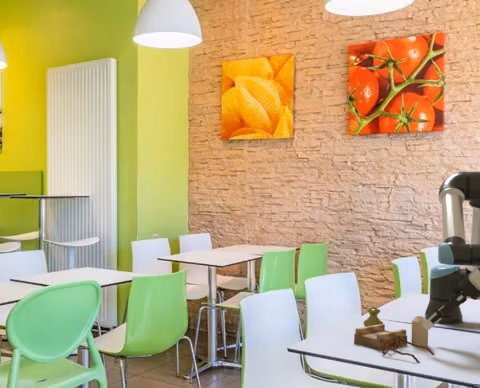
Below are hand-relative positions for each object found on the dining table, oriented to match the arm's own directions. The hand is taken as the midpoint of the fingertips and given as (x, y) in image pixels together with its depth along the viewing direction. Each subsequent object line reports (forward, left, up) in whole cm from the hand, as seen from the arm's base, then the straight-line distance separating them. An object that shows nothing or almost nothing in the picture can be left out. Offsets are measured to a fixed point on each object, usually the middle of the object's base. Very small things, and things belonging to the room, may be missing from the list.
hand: (428, 323), depth 200 cm
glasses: (+14, +2, -9) cm, 17 cm away
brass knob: (+1, -23, -8) cm, 25 cm away
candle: (0, -3, -8) cm, 9 cm away
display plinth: (+10, -12, -8) cm, 18 cm away
